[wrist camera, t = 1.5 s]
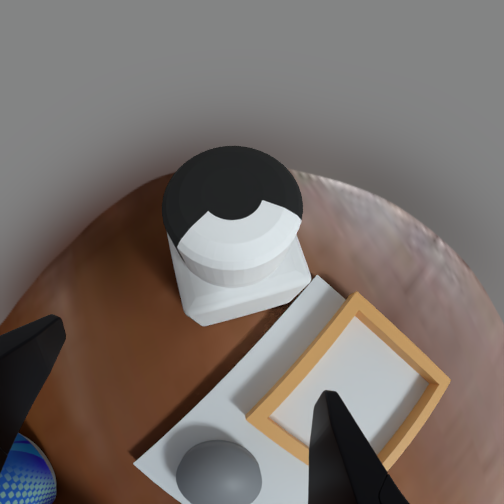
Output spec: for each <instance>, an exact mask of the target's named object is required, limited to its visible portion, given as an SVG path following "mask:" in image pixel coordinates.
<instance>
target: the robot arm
mask: <svg viewBox="0 0 504 504" xmlns="http://www.w3.org/2000/svg"><path fill="white" fill-rule="evenodd" d="M65 339H66V333H65V330H64V326H63V322H62V319H61V318H60V317H58V316H56V315H53V314H51V315H48V316H46V317H43V318H41V319H38V320H36V321H34V322H31V323H29V324H26V325H24V326H22V327H19V328H17V329H15V330H12V331H10V332H8V333H5V334H3V335H1V336H0V473H1V471H2V468H3V466H4V463H5V461H6V459H7V456H8V454H9V452H10V449H11V447H12V445H13V443H14V441H15V438H16V436H17V434H18V432H19V430H20V428H21V426H22V424H23V422H24V420H25V418H26V416H27V414H28V412H29V410H30V408H31V406H32V404H33V403H34V401H35V399H36V397H37V395H38V393H39V392H40V390H41V388H42V386H43V384H44V383H45V381H46V379H47V377H48V376H49V374H50V372H51V370H52V367H53V365H54V363H55V361H56V359H57V357H58V354H59V352H60V350H61V348H62V346H63V344H64V342H65ZM308 504H409V502H408V501H407V500H406V499H405V497H404V496H403V495H402V493H401V492H400V490H399V489H398V487H397V486H396V484H395V483H394V481H393V480H392V478H391V477H390V475H389V474H388V472H387V471H386V469H385V467H384V466H383V464H382V463H381V461H380V459H379V458H378V456H377V455H376V453H375V451H374V450H373V448H372V447H371V445H370V443H369V442H368V440H367V439H366V437H365V435H364V434H363V432H362V431H361V429H360V428H359V426H358V424H357V423H356V421H355V420H354V418H353V416H352V415H351V413H350V412H349V410H348V408H347V407H346V405H345V404H344V402H343V400H342V399H341V397H340V396H339V394H338V393H337V392H336V391H331V390H324V391H323V392H322V394H321V395H320V397H319V399H318V400H317V402H316V403H315V406H314V410H313V419H312V428H311V436H310V444H309V481H308Z"/></svg>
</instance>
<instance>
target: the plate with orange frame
mask: <svg viewBox="0 0 504 504" xmlns="http://www.w3.org/2000/svg"><path fill="white" fill-rule="evenodd" d="M450 381H451V380H450V379H449V378H448V377H447V376H446V375H445V374H444V373H443V372H442V371H441V370H440V369H439V368H438V367H437V366H436V365H435V364H434V363H433V362H432V361H431V360H430V359H429V358H428V357H427V356H426V355H425V354H424V353H423V352H422V351H421V350H420V349H419V348H418V347H417V346H416V345H415V344H413V343H412V342H411V341H410V340H409V339H408V338H407V337H406V336H405V335H404V334H403V333H402V332H401V331H400V330H399V329H398V328H397V327H395V326H394V325H393V324H392V323H391V322H390V321H389V320H388V319H387V318H386V317H385V316H384V315H383V314H381V313H380V312H379V311H378V310H377V309H376V308H375V307H374V306H373V305H372V304H370V303H369V302H368V301H367V300H366V299H365V298H364V297H363V296H362V295H361V294H359V293H358V292H357V291H356V292H354V293H352V294H350V295H349V296H348V298H347V299H346V300H345V299H344V298H343V297H342V296H341V295H340V294H339V293H338V292H336V291H335V290H334V289H333V288H332V287H331V286H330V285H329V284H327V283H326V282H325V281H324V280H323V279H322V278H321V277H319V276H318V275H316V276H315V277H314V279H313V280H312V281H311V282H310V283H309V284H308V286H307V287H306V288H305V289H304V290H303V292H302V293H301V294H300V295H299V296H298V297H297V298H296V300H295V301H294V302H293V303H292V304H291V305H290V307H289V308H288V309H287V310H286V311H285V312H284V313H283V314H282V316H281V317H280V318H279V319H278V320H277V321H276V322H275V323H274V325H273V326H272V327H271V328H270V329H269V330H268V331H267V332H266V333H265V334H264V336H263V337H262V338H261V339H260V340H259V341H258V342H257V343H256V344H255V345H254V346H253V347H252V349H251V350H250V351H249V352H248V353H247V354H246V355H245V356H244V357H243V358H242V359H241V360H240V361H239V362H238V363H237V364H236V365H235V367H234V368H233V369H232V370H231V371H230V372H229V373H228V374H227V375H226V376H225V377H224V378H223V379H222V380H221V381H220V382H219V383H218V384H217V385H216V386H215V387H214V388H213V389H212V390H211V391H210V392H209V393H208V394H207V395H206V396H205V397H204V398H203V399H202V400H201V401H200V402H199V403H198V404H197V405H196V406H195V407H194V408H193V409H192V410H191V411H190V412H189V413H188V414H187V415H185V416H184V417H183V418H182V419H181V420H180V421H179V422H178V423H177V424H176V425H175V426H174V427H173V428H172V429H171V430H170V431H169V432H167V433H166V434H165V435H164V436H163V437H162V438H161V439H160V440H159V441H158V442H157V443H155V444H154V445H153V446H152V447H151V448H150V449H149V450H148V451H146V452H145V453H144V454H143V455H142V456H141V457H140V458H139V459H137V460H136V461H135V462H134V463H133V464H134V465H135V466H136V467H137V468H138V469H140V470H141V471H142V472H143V473H144V474H145V475H146V476H148V477H149V478H150V479H151V480H152V481H154V482H155V483H156V484H157V485H158V486H160V487H161V488H162V489H163V490H165V491H166V492H167V493H168V494H170V495H171V496H172V497H174V498H175V499H176V500H178V501H179V502H180V503H182V504H308V481H309V444H310V436H311V428H312V419H313V410H314V406H315V403H316V402H317V400H318V399H319V397H320V395H321V394H322V392H323V391H324V390H331V391H336V392H337V393H338V394H339V396H340V397H341V399H342V400H343V402H344V404H345V405H346V407H347V408H348V410H349V412H350V413H351V415H352V416H353V418H354V420H355V421H356V423H357V424H358V426H359V428H360V429H361V431H362V432H363V434H364V435H365V437H366V439H367V440H368V442H369V443H370V445H371V447H372V448H373V450H374V451H375V453H376V455H377V456H378V458H379V459H380V461H381V463H382V464H383V466H384V467H385V469H386V471H388V470H389V469H390V468H391V466H392V465H393V464H394V463H395V462H396V460H397V459H398V458H399V457H400V455H401V454H402V453H403V452H404V450H405V449H406V448H407V447H408V445H409V444H410V443H411V441H412V440H413V439H414V437H415V436H416V434H417V433H418V432H419V430H420V429H421V427H422V426H423V425H424V423H425V422H426V420H427V419H428V417H429V416H430V414H431V413H432V411H433V410H434V408H435V406H436V405H437V403H438V402H439V400H440V398H441V397H442V395H443V393H444V392H445V390H446V388H447V387H448V385H449V383H450Z"/></svg>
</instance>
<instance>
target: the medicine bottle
mask: <svg viewBox="0 0 504 504" xmlns="http://www.w3.org/2000/svg"><path fill="white" fill-rule="evenodd" d="M302 214H303V202H302V196H301V192H300V189H299V186H298V184H297V182H296V180H295V179H294V177H293V176H292V174H291V173H290V172H289V171H288V169H287V168H286V167H285V166H284V165H283V164H281V163H280V162H279V161H278V160H276V159H275V158H273V157H271V156H270V155H268V154H266V153H263V152H261V151H258V150H255V149H252V148H247V147H241V146H225V147H218V148H214V149H210V150H207V151H205V152H202V153H200V154H198V155H196V156H194V157H193V158H191V159H190V160H188V161H187V162H186V163H184V164H183V165H182V166H181V167H180V168H179V169H178V170H177V171H176V172H175V174H174V175H173V177H172V178H171V180H170V181H169V183H168V185H167V187H166V190H165V193H164V196H163V203H162V216H163V222H164V225H165V228H166V231H167V236H168V241H169V246H170V251H171V256H172V261H173V266H174V270H175V275H176V279H177V284H178V288H179V293H180V297H181V301H182V305H183V309H184V312H185V314H186V315H187V316H189V317H190V318H191V319H193V320H194V321H195V322H197V323H198V324H200V325H201V326H208V325H212V324H216V323H219V322H223V321H227V320H231V319H234V318H238V317H242V316H245V315H249V314H252V313H256V312H259V311H263V310H266V309H270V308H273V307H277V306H280V305H283V304H287V303H289V302H290V301H291V300H292V299H293V298H294V297H295V296H296V295H297V294H299V293H300V292H301V291H302V290H303V289H304V288H305V287H306V286H307V285H308V284H309V283H310V281H311V274H310V272H309V269H308V266H307V263H306V260H305V257H304V254H303V252H302V249H301V246H300V243H299V240H298V238H297V235H296V234H297V231H298V229H299V227H300V223H301V220H302Z"/></svg>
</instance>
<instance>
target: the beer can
mask: <svg viewBox="0 0 504 504" xmlns="http://www.w3.org/2000/svg"><path fill="white" fill-rule="evenodd" d="M55 498H56V477H55V473H54V470H53V468H52V466H51V464H50V462H49V460H48V459H47V457H46V456H45V454H44V453H43V452H42V450H41V449H40V448H39V447H38V446H37V445H36V444H35V443H34V442H32V441H31V440H30V439H28V438H27V437H25V436H23V435H21V434H20V433H18V434H17V436H16V438H15V441H14V443H13V445H12V447H11V449H10V452H9V454H8V456H7V459H6V461H5V463H4V466H3V468H2V471H1V473H0V504H52V503H53V502H54V500H55Z"/></svg>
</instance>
